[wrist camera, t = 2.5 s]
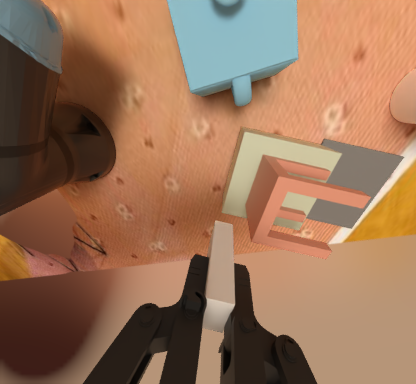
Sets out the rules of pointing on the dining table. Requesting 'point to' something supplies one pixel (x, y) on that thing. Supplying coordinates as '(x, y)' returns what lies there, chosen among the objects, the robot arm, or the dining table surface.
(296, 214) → the stool
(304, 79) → the dining table surface
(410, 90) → the cup
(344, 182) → the mat
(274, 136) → the step block
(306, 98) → the dining table surface
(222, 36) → the teapot
